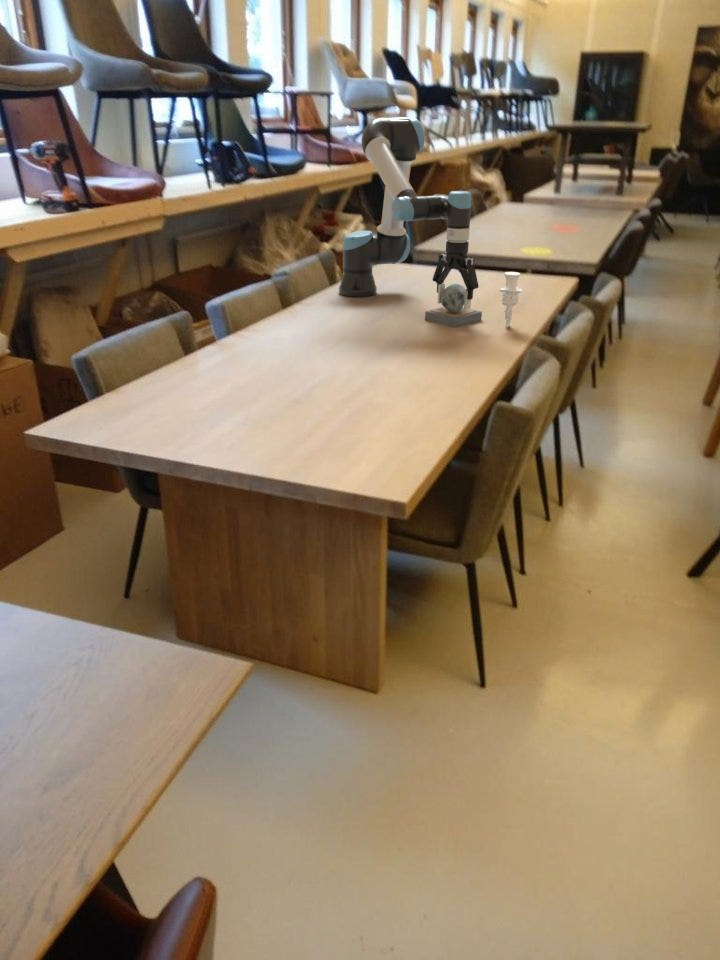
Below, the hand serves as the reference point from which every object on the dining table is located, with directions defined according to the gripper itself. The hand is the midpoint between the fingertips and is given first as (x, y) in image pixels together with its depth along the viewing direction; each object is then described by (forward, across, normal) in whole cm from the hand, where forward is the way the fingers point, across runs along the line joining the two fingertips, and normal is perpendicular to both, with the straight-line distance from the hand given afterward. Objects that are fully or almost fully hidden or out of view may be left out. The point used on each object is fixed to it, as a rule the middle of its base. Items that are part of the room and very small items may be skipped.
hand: (453, 305), depth 261 cm
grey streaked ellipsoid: (+1, 0, 0) cm, 1 cm away
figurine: (+5, +19, +6) cm, 21 cm away
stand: (+5, 0, 0) cm, 5 cm away
